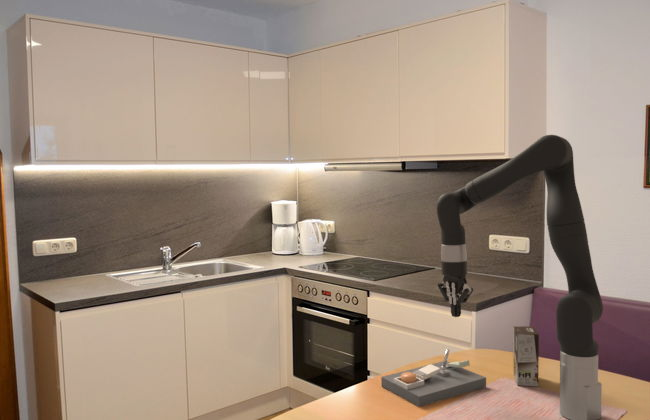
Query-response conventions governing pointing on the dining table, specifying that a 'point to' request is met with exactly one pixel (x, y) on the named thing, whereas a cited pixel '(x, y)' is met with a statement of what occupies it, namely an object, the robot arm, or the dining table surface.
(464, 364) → the paddle switch
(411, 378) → the push button
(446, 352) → the toggle lever
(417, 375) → the rocker switch
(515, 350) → the coffee box
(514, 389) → the dining table surface
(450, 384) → the control panel
